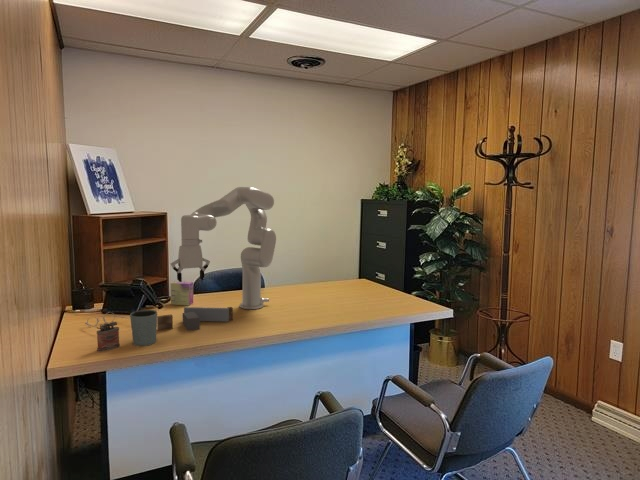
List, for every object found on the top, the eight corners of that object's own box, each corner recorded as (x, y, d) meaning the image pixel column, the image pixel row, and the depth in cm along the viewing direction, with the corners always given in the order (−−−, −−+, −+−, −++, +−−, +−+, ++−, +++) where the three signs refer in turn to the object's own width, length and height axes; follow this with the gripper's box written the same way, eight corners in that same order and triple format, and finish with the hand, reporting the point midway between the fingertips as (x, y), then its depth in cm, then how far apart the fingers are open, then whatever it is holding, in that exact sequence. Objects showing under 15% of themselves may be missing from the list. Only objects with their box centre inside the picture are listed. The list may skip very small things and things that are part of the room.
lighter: (99, 352, 159) (98, 326, 158) (95, 349, 162) (94, 324, 160) (121, 346, 165) (120, 321, 164) (117, 344, 167) (116, 319, 166)
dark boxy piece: (193, 323, 197) (193, 311, 196) (199, 329, 188) (199, 317, 188) (182, 324, 194) (182, 313, 193) (188, 331, 186) (188, 318, 185)
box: (193, 303, 230) (193, 281, 229) (189, 305, 225) (189, 283, 223) (175, 302, 231) (174, 280, 230) (170, 304, 226) (170, 282, 224)
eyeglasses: (116, 320, 199) (116, 310, 198) (141, 328, 188) (141, 317, 188) (82, 329, 185) (81, 318, 185) (106, 338, 175) (106, 326, 175)
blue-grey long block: (229, 319, 201) (229, 307, 201) (228, 321, 199) (228, 308, 198) (185, 318, 201) (185, 306, 200) (184, 320, 198) (184, 308, 198)
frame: (231, 319, 204) (231, 306, 203) (232, 320, 202) (232, 307, 201) (157, 329, 186) (157, 316, 186) (158, 330, 185) (158, 317, 184)
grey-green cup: (145, 348, 164) (144, 317, 163) (124, 344, 168) (123, 314, 167) (163, 339, 174) (162, 311, 173) (143, 336, 177) (142, 308, 176)
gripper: (207, 240, 198) (207, 277, 200) (168, 242, 189) (169, 280, 191) (212, 242, 192) (212, 280, 194) (172, 244, 183) (173, 283, 185)
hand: (190, 280), depth 192 cm, fingers open, 9 cm apart
